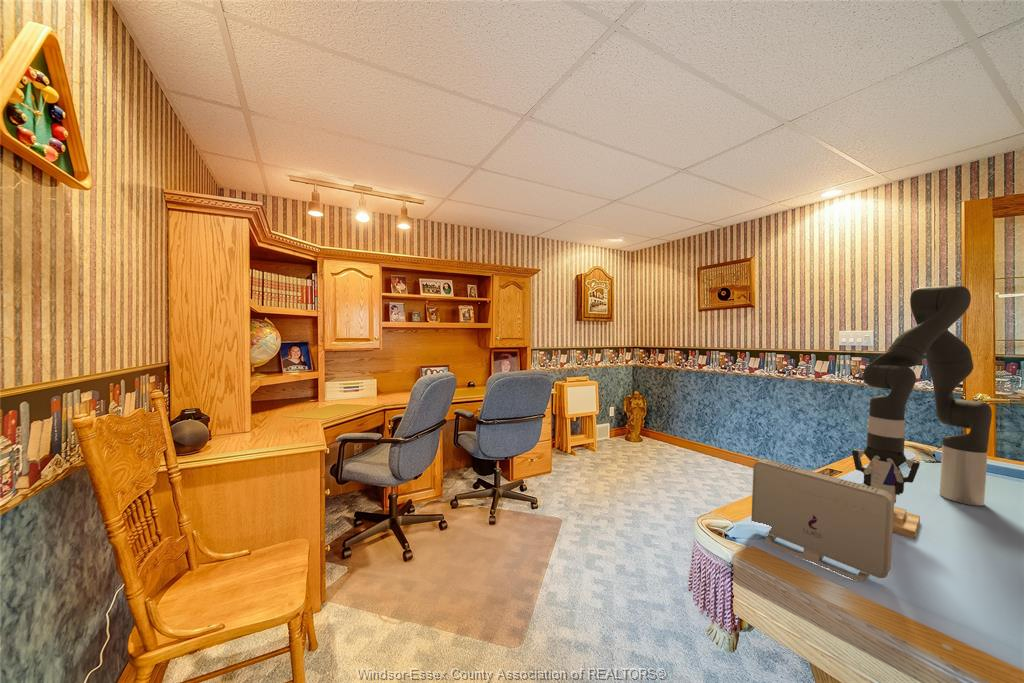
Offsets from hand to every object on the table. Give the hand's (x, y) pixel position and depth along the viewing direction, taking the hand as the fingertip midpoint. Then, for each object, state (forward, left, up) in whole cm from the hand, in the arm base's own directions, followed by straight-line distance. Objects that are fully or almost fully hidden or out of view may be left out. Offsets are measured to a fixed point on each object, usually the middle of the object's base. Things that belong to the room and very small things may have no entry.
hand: (882, 490), depth 104 cm
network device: (+38, -7, -9) cm, 40 cm away
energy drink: (0, 0, -3) cm, 3 cm away
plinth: (0, 0, -9) cm, 9 cm away
